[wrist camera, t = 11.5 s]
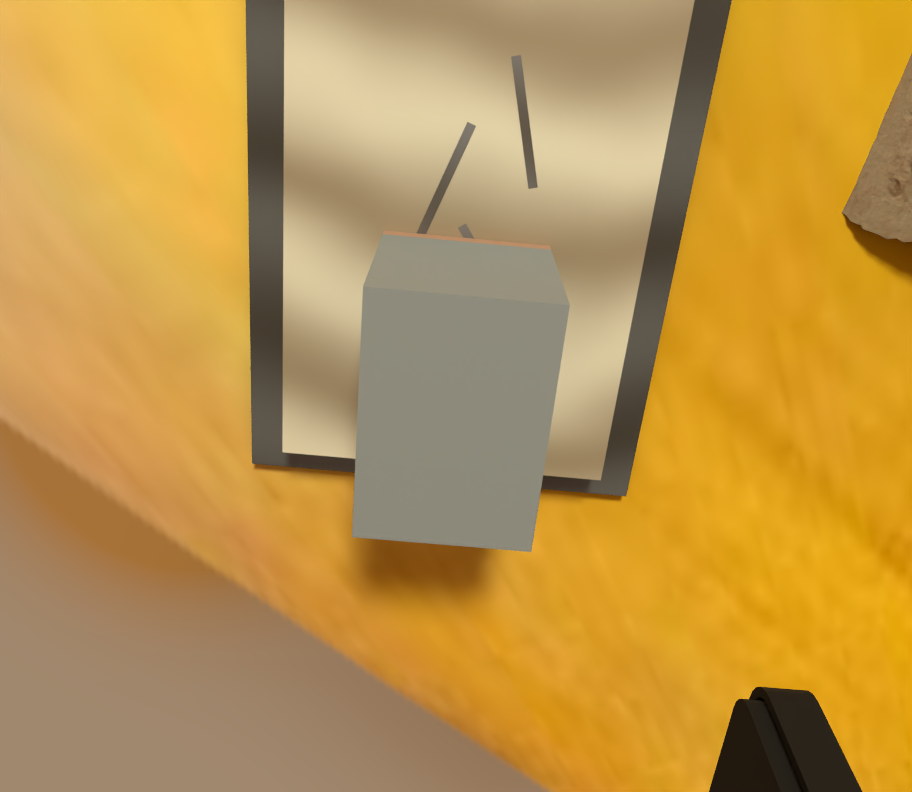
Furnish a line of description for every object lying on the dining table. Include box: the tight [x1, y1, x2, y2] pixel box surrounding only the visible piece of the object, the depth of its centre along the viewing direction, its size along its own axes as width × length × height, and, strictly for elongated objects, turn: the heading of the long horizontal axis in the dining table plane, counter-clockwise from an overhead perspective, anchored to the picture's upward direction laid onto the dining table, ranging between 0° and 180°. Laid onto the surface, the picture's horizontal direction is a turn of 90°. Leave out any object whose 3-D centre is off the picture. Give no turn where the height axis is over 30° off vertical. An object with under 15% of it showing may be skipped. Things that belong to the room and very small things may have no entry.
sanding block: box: [352, 230, 570, 552], centre depth 26 cm, size 8×6×6 cm
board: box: [246, 0, 732, 496], centre depth 28 cm, size 22×15×2 cm
